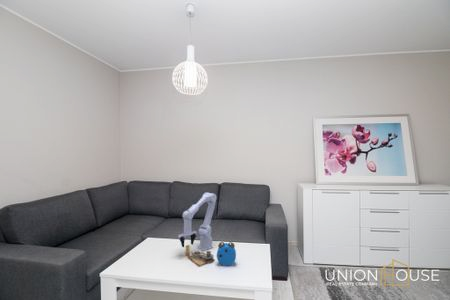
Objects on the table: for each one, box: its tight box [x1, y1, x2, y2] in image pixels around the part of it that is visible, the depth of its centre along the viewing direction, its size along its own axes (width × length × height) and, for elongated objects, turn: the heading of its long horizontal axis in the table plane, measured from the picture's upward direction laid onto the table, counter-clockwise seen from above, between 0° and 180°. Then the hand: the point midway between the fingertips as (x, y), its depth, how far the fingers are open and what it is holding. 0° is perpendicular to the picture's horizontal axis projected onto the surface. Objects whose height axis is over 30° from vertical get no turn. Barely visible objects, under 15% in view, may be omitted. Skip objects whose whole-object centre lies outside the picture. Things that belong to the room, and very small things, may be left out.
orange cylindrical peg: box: [185, 244, 190, 257], centre depth 167 cm, size 2×2×7 cm
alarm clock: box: [216, 241, 237, 267], centre depth 154 cm, size 13×6×15 cm, turn 88°
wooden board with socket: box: [186, 250, 215, 268], centre depth 160 cm, size 13×17×6 cm
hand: (187, 245), depth 167 cm, fingers open, 7 cm apart
